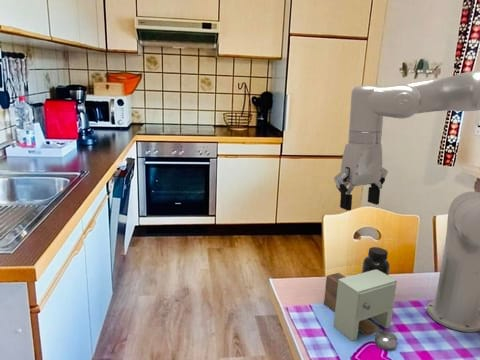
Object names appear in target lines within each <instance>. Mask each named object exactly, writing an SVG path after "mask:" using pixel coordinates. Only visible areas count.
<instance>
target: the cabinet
mask: <svg viewBox="0 0 480 360" xmlns="http://www.w3.org/2000/svg"><path fill="white" fill-rule="evenodd" d="M397 282H398V280H397V279H395V278H394V277H392V276H390V275H386V274H384V273H383V272H381V271H379V270H377V269H376V270H372V271H368V272H364V273H362V272H361V273H357V274H353V275H349V276H345V278H341V279H338V288H337V297H336V307H335V312H334V319H333V327H334V328H336V330H337V331H339V332H340V333H341V334H343V335H344V336H345V337H346V338H347V339H349V340H350V341H351V342H353V341H355V340H358V333H359V330H358V326H359V321H361V320H364V319H372V320H373V321H374V322H376V323H377V324H378V325H380V326H381V327H382V328H384V329H389V328H390V327H391V324H392V317H393V310H394V304H395V299H396V298H395V297H396V291H397Z"/></svg>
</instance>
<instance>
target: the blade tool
mask: <svg viewBox="0 0 480 360" xmlns="http://www.w3.org/2000/svg"><path fill="white" fill-rule="evenodd" d="M345 277H346V276H345V275H343V274H342V273H340V272H335V273H332V274H328V275H326V280H325V288H324V289H325V290H324V299H323V306H325V307H327V308H328V307H329V308H328V309H330V310H331V309H332V310H333V311H332V310H331V311H332V312H334V313H335V307H336V297H337V288H338V279H341V278H345ZM379 330H380V329H379V326H378V325H376V324H375V323H373V322H372V321H370V320H369V318H367V319H364V320H361V321H359V326H358V331H360V333H362V334H364V336H366V337H368V336H370V335H371V336H372V335H374V334H376V333H377V332H378V331H379Z"/></svg>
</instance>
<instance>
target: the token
mask: <svg viewBox="0 0 480 360" xmlns="http://www.w3.org/2000/svg"><path fill="white" fill-rule="evenodd" d="M374 344H375V346H376V347H377V348H379V349H381V350H383V351H387V352H391V351H392V352H393V351H395V350H396V349H397V345H398V337H397V335H395V334H394V333H392V332H390V331H387V330H378V332H377V333H375V339H374Z"/></svg>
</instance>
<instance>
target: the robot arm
mask: <svg viewBox="0 0 480 360" xmlns="http://www.w3.org/2000/svg"><path fill="white" fill-rule="evenodd" d="M443 111H445V112H446V111H447V112H448V111H454V112H474V111H475V112H476V111H480V69H477V70H472V71H466V72H462V73H457V74H455V75H451V76H448V77H442V78H438V79H437V78H436V79H432V80H426V81H421V82H413V83H407V84H398V85H392V86H381V85H380V86H379V85H356V86H354V87H353V89H352V90H351V99H350V111H349V126H348V127H349V128H348V142H347V143H346V144H345V147H344V149H343V154H342V159H341V165H340V166H341V167H340V172H339V173H338V174H337V175H335V176H334V178H333V180H334V183H335V187H336V188H337V189H338V193H340V202H339V203H340V204H339V207H340V209H343V210H346V211H349V212H350V211H352V205H353V203H352V202H353V194H351V193H352V191H353V190H354V188H355V187H360V186H367V185H369V187H368V191H367V193H368V194H367V202H368V203H370V204H373V205H376V206H377V205H378V206H379V204H380V195H381V190H382V188H383V185H384V183H385V182H386V178H387V175H388V173H389V171H388V170H387V169H386V168H384V167H383V148H382V136H383V135H382V134H383V133H382V131H383V124H384V123H383V121H384V117H385V118H386V117H387V118H392V119H398V120H399V119H400V120H403V119H407V118H411V117H413V116H414V115H416V114H417V115H418V114H423V113H432V112H443ZM447 212H448V213H447V223H446V233H445V234H446V235H445V242H444V250H443V255H442V258H441V263H440V272H439V276H438V277H439V278H438V283H437V290H436V295H435V299H433V300H431V301H429V302H428V303H427V306H426V311H427V314H428V315H429V317H430V318H431V319H432V320H434V322H437V323H438V324H440V325H442V326H444V327H446V328H449V329H452V330H456V331H459V332H465V333H466V332H467V333H473V332H476V333H477V332H478V331H480V192H479V191H467V192H463V193H461V194H459V195H457V196H456V197H455V198H454V199H453V200H452V201H451V203H450V205H449V209H448V211H447Z"/></svg>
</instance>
